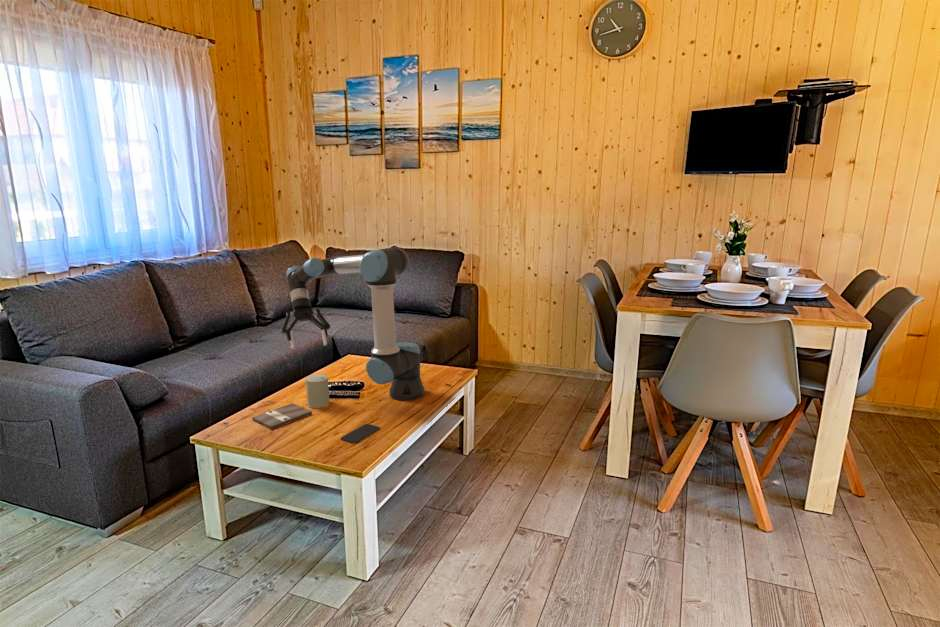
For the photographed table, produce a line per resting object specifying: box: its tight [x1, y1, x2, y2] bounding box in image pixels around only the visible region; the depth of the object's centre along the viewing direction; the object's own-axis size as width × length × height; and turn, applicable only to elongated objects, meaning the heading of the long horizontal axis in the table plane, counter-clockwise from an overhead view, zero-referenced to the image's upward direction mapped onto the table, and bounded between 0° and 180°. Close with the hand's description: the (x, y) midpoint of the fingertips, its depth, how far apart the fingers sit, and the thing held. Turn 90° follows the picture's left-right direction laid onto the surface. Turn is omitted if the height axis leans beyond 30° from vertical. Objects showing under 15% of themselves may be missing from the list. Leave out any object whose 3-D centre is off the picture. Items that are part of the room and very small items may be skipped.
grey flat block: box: [251, 402, 313, 430], centre depth 219 cm, size 13×18×2 cm
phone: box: [340, 423, 381, 444], centre depth 205 cm, size 7×1×15 cm
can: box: [304, 373, 331, 409], centre depth 230 cm, size 9×9×12 cm
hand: (309, 346), depth 232 cm, fingers open, 13 cm apart
